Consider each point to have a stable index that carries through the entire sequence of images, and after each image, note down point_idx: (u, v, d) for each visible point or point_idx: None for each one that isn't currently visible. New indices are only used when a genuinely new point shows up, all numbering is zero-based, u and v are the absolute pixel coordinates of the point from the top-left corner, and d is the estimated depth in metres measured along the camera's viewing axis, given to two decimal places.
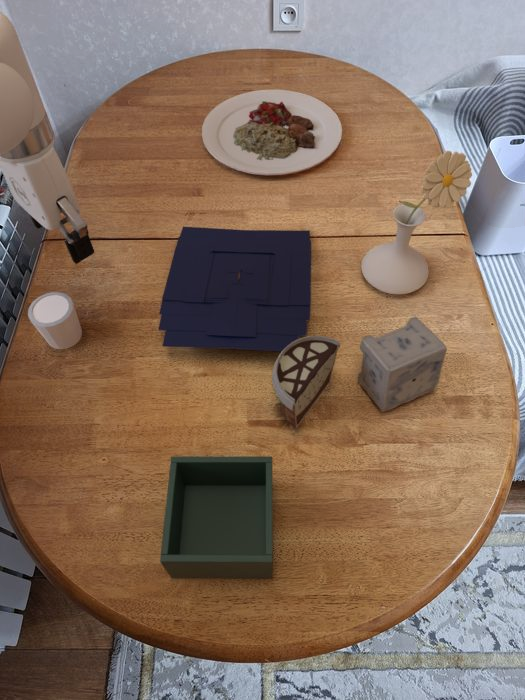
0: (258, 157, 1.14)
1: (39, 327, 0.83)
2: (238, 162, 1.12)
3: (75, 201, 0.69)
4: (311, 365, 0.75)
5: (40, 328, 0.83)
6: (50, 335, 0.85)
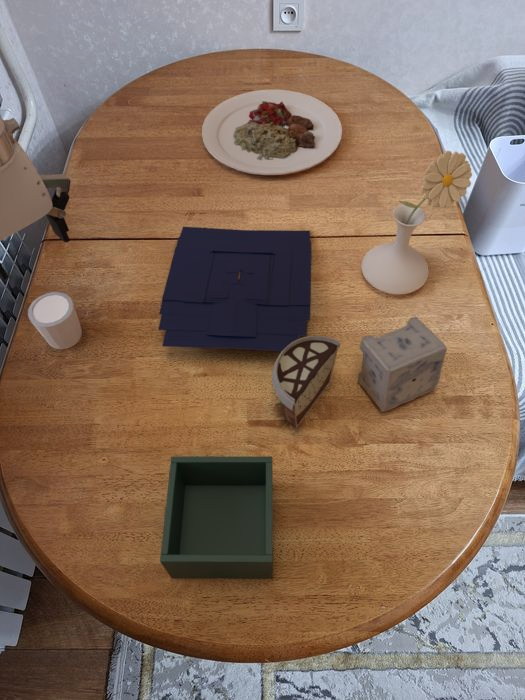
0: (258, 157, 1.14)
1: (39, 327, 0.83)
2: (238, 162, 1.12)
3: None
4: (311, 365, 0.75)
5: (40, 328, 0.83)
6: (50, 335, 0.85)
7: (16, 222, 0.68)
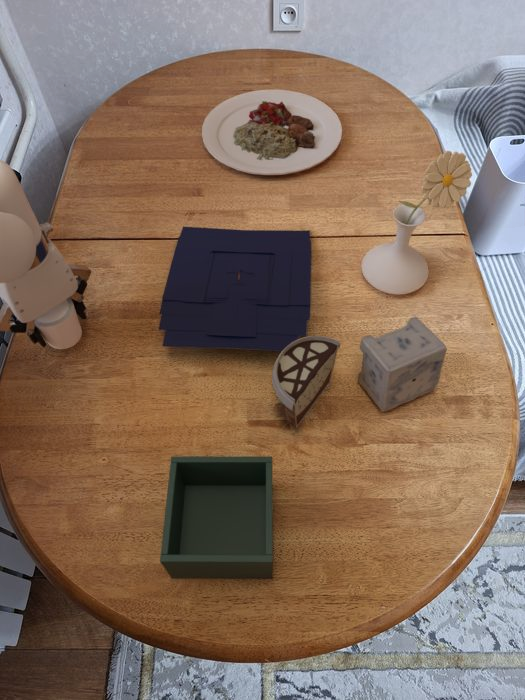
0: (258, 157, 1.14)
1: (39, 327, 0.83)
2: (238, 162, 1.12)
3: (15, 314, 0.78)
4: (311, 365, 0.75)
5: (40, 328, 0.83)
6: (50, 335, 0.85)
7: (48, 304, 0.80)
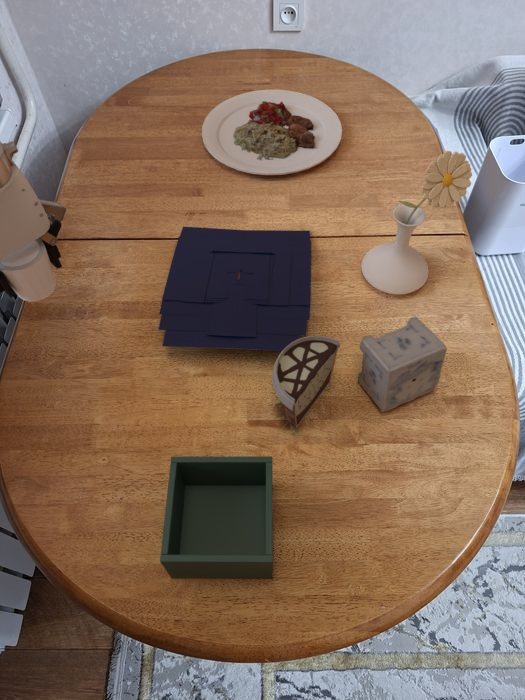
0: (258, 157, 1.14)
1: (5, 272, 0.72)
2: (238, 162, 1.12)
3: None
4: (311, 365, 0.75)
5: (6, 273, 0.72)
6: (18, 283, 0.74)
7: (14, 242, 0.69)
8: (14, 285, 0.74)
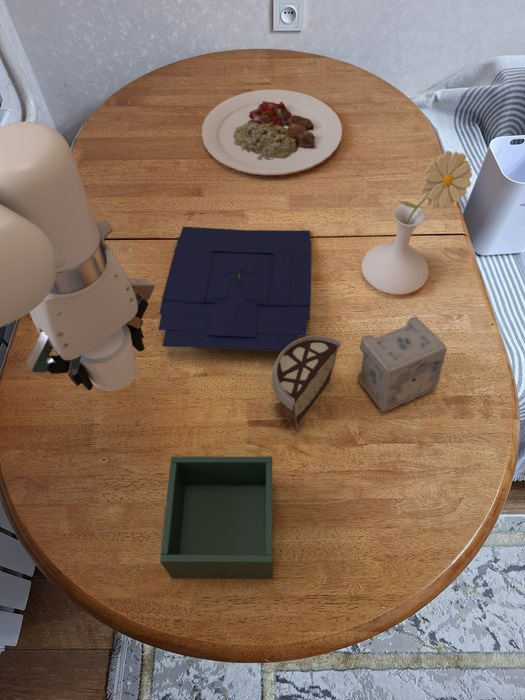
0: (258, 157, 1.14)
1: (85, 364, 0.61)
2: (238, 162, 1.12)
3: (57, 349, 0.56)
4: (311, 365, 0.75)
5: (87, 365, 0.61)
6: (99, 375, 0.62)
7: (100, 333, 0.58)
8: (93, 376, 0.63)
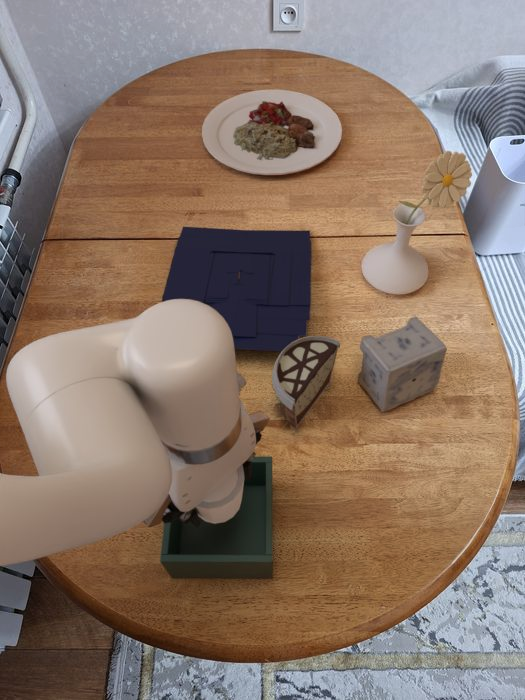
0: (258, 157, 1.14)
1: (198, 507, 0.56)
2: (238, 162, 1.12)
3: (178, 505, 0.51)
4: (311, 365, 0.75)
5: (199, 508, 0.56)
6: (210, 514, 0.57)
7: (219, 481, 0.53)
8: (202, 514, 0.58)
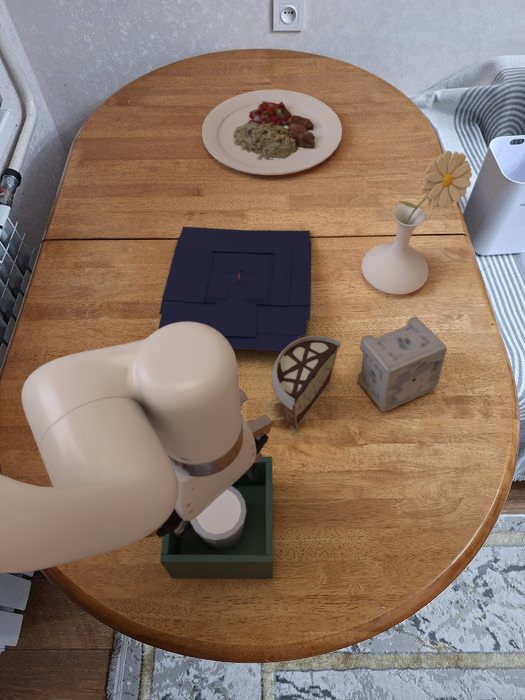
0: (258, 157, 1.14)
1: (206, 538, 0.64)
2: (238, 162, 1.12)
3: (181, 514, 0.53)
4: (311, 365, 0.75)
5: (207, 539, 0.65)
6: (216, 543, 0.66)
7: (221, 491, 0.55)
8: (209, 543, 0.67)
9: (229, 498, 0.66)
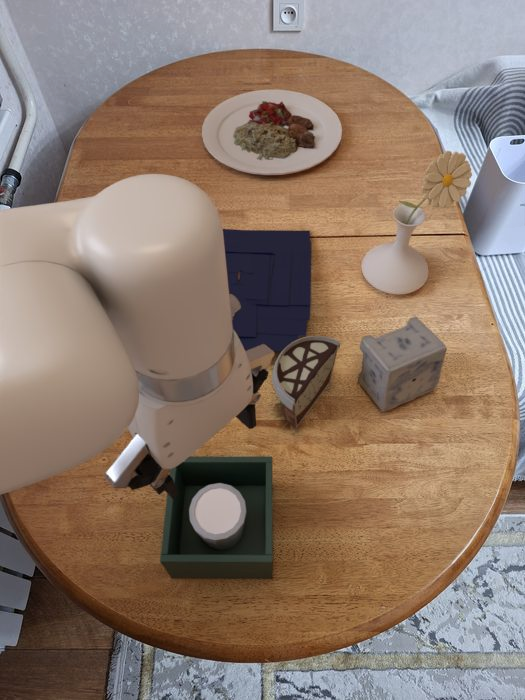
0: (258, 157, 1.14)
1: (206, 538, 0.64)
2: (238, 162, 1.12)
3: (159, 459, 0.42)
4: (311, 365, 0.75)
5: (207, 539, 0.65)
6: (216, 543, 0.66)
7: (209, 433, 0.44)
8: (209, 543, 0.67)
9: (229, 498, 0.66)
